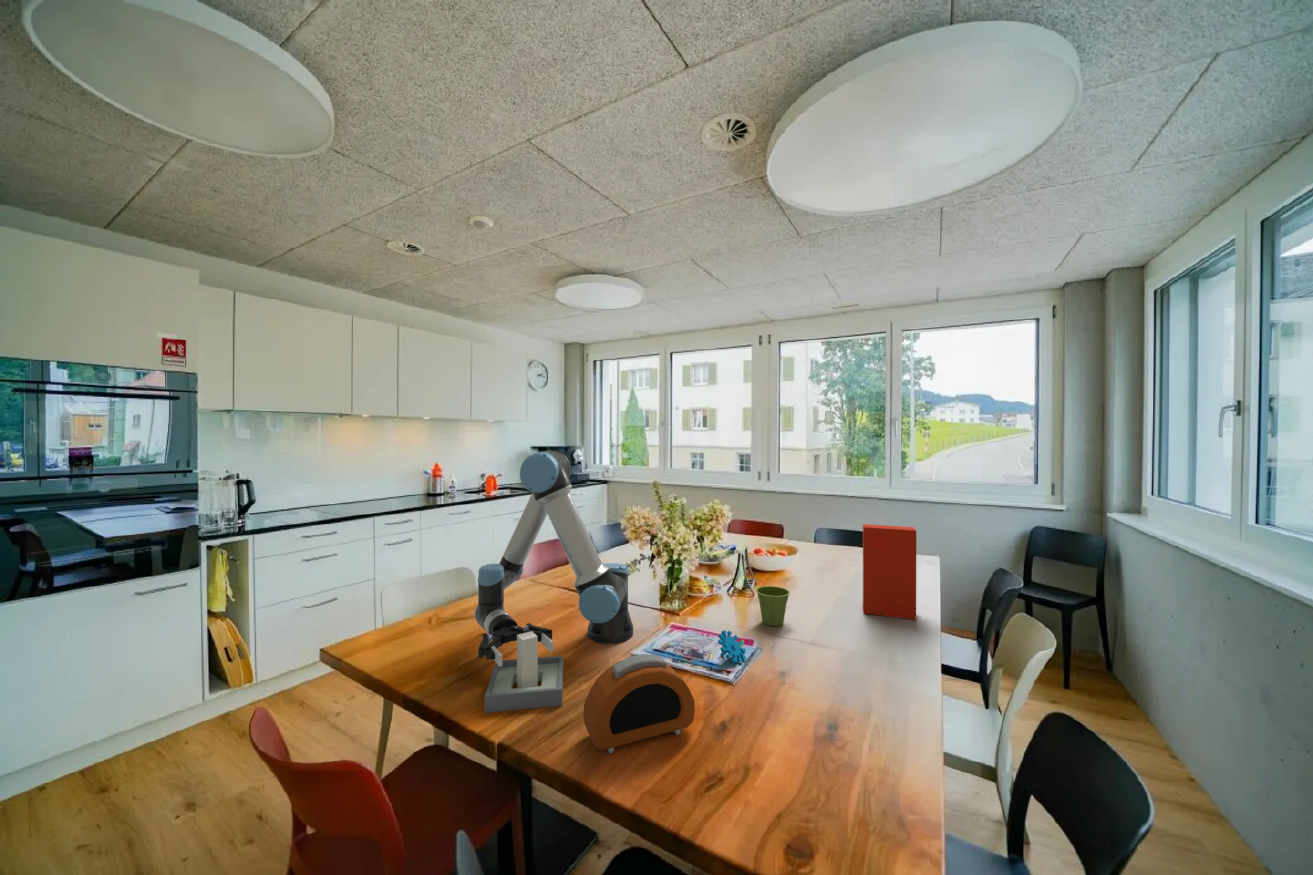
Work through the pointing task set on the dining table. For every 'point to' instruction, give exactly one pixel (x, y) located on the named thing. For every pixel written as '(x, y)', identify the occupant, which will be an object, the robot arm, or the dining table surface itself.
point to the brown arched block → (637, 702)
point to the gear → (731, 646)
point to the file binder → (889, 571)
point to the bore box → (546, 695)
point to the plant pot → (772, 604)
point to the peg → (527, 660)
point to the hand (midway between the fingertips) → (527, 653)
